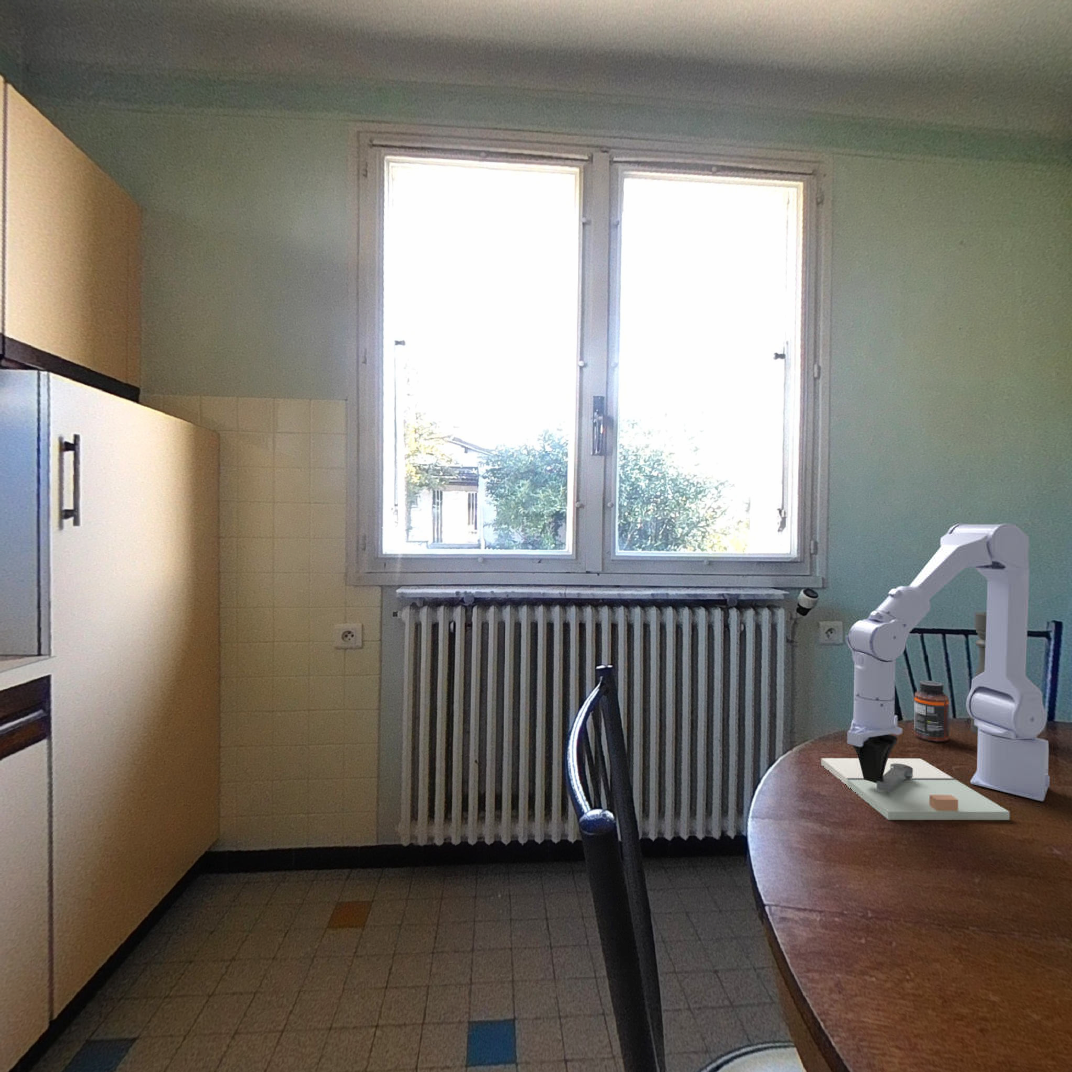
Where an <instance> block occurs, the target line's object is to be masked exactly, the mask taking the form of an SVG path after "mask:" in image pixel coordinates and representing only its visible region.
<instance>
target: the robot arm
mask: <svg viewBox="0 0 1072 1072" xmlns="http://www.w3.org/2000/svg"><path fill="white" fill-rule="evenodd" d="M939 541H940V542H939V544H940V546H939V548H938V550H937V551H936V552H935V553H934V554H933V556H932V557H931V559H930V560H929V561H928V562H927V564H926V565H925V566H924V567H923V568H922V569H921V571H920V572H919V573H918V574H917V576H916V577H915V578H914V579H913V580H912V582H911V583H910V585H900V586H897V587H896V588H892V589H891V590H889V592H888V596H887V597H886V599H884V601H883V602H882V603H881V604H880V605H879V606H877V608H876V609H875V610H873V611H871V612H870V614H869V616H868V617H867V618H864V619H862V620H861V619H859V620H858V621H856V622H855V623H854V624H853V625H852V626H851V627H850V629H849V632H848V635H847V634H846V636H845V640H846V644H847V646H848V648H849V650H850V651H851V655H852V656H851V657H852V658H851V659H852V661H853V663H854V665H853V667H854V668H853V669H854V672H853V718H852V720H851V724H850V729H849V730H848V731H846V732H847V734H846V735H847V739H846V740H847V742H846V743H847V744H848V745H852V746H853V749H854V750H855V752H856V755H857V758H859V762H860V766H861V770H862V774H863V778H864V780H867V781H870V782H874V783H877V780H878V779H880V778H881V777H882V776H883V774H884V770H885V767H886V763H887V760H888V758H890V757H889V756H890V754H891V753H892V750H893V749H894V747H895V746H896V745H897V742H898V737H897V736H898V735H901V734H902V733H903V728H902V727H899V726H898V715H895V704H896V703H895V699H896V697H895V696H896V694H895V693H896V692H895V691H896V685H895V683H896V659H897V658H899V657H900V656H901V655H902V654H903V653H904V651H905V649H906V643H907V639H908V638H909V637H910V632H912V630H913V629H914V628H915V627H916V626H917V625H918V624H919V623H920V622H921V621H922V620H923V618H925V616H927V614H928V613H930V611H931V602H930V599H931V598H932V597H934V596H935V595H936V594H937V593H938V592H939V591H940V590H942V588H943V587H945V586H946V585H947V584H948V583H949V582H951V580H952V579H954V577H956V576H957V575H958V574H959V573H960V572H961V571H962V570H964V569H967V568H974V569H975V570H977V572H978V573H980V574H981V575H982V576H983V577H984V578H985V579H987V592H986V593H987V595H986V598H987V599H986V612H987V618H986V647H985V671H984V672H983V673H981V674H980V675H978V676H976V677H975V676H974V677H975V678H974V677H973V678H972V679H971V686H970V687H971V688H970V691H969V693H968V695H967V697H966V703H965V706H966V712H967V713H968V715H969V716H970V718H971V717H972V718H973V719H974V725H976V726H977V727H978V734H977V751H976V752H977V754H976V755H977V760H976V771H975V772H974V774H973V776H972V778H971V779H970V784H971V785H975V786H979V787H984V788H986V789H991V790H996V791H998V792H999V791H1000V792H1003V793H1007V794H1011V795H1016V796H1019V797H1023V798H1028V799H1031V800H1035V801H1040V802H1044V800H1045V797H1046V795H1047V792H1048V788H1049V787H1050V781H1051V780H1050V779H1051V777H1050V775H1049V754H1050V753H1049V749H1050V748H1049V740H1046V739H1043V738H1038V736H1039V735H1040V734H1041V733H1042V732H1043V730H1044V729H1045V727H1046V724H1047V711H1046V709H1045V706H1044V702H1043V692H1042V690H1041V689H1040V688H1038V687H1037V686H1036V684H1034V683H1033V682H1032V681H1031V680H1030V679H1029V678H1028V677H1027V674H1026V669H1027V643H1028V641H1027V639H1028V620H1029V619H1028V617H1029V616H1028V614H1029V593H1030V592H1029V591H1030V590H1029V586H1030V568H1029V550H1030V549H1029V546H1030V537H1029V536H1028V535H1027V534H1026V533H1025V532H1024V531H1023V530H1021V529H1020V528H1019V527H1018V526H1017V525H1015V524H1014V523H1001V524H998V523H997V524H996V523H995V524H992V523H991V524H989V523H987V524H983V523H982V524H972V523H971V524H968V523H957V524H955V525H953V526H951V527H949V529H948V531H947V532H946V533H945V534H944V535H943V536H942V537H940V540H939ZM895 735H896V736H895Z"/></svg>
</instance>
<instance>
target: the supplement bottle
mask: <svg viewBox="0 0 1072 1072" xmlns="http://www.w3.org/2000/svg"><path fill="white" fill-rule="evenodd" d="M949 699H950V698H949V697H948V695H947V694H945V692H944V684H943V683H942V682H938V681H934V680H921V681H920V682H919V690H918V691H915V692H914V705H913V706H914V707H913V708H914V710H913V711H914V718H913V719H914V720H913V721H914V723H913V724H914V726H913V727H914V728H913V729H914V735H915V736H916V737H918V738H919V739H922V740H924V741H930V742H935V743H937V742H938V743H941V742H942V743H943V742H946V741H948V740H949V736H950V725H949V724H950V720H949V719H950V700H949Z"/></svg>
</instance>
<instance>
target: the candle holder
mask: <svg viewBox="0 0 1072 1072" xmlns="http://www.w3.org/2000/svg"><path fill="white" fill-rule="evenodd" d="M986 618H987V611H985V612H982V611H979V612H974V629H975V630H976V631H975V632H976V634H977V636H978V638H979V639H977V640H976V641H975V645H976V646H977V647H978V649H979V653H978V655H979V656H978V665H977V668H976V671H975V673H974V677H973V678H975V677H976V676H978V675H980V674H981V673H983V672H984V671H985V647H986ZM970 719H971V720H970V721H971V723H970V731H971V732H972V733H974V734H975V735H978V727H977V726H976V725H974V719H973V718H972V717H971V716H970Z"/></svg>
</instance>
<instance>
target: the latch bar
mask: <svg viewBox="0 0 1072 1072" xmlns="http://www.w3.org/2000/svg"><path fill="white" fill-rule="evenodd" d="M912 777H913V768H912V767H910V766H907V765H904V764H898V763H894V764H891V765H890V770H889V771H888V772H887V773H885V774H884V775H883V776H882V777H881V778H880V779H878V780H877V789H880V790H884V791H887V792H892V791H893V790H894V789H895V788H896V787H897V786H898V785H899V784H901V783H902V782H903V781H904V780H905V779H906V778H912Z"/></svg>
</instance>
